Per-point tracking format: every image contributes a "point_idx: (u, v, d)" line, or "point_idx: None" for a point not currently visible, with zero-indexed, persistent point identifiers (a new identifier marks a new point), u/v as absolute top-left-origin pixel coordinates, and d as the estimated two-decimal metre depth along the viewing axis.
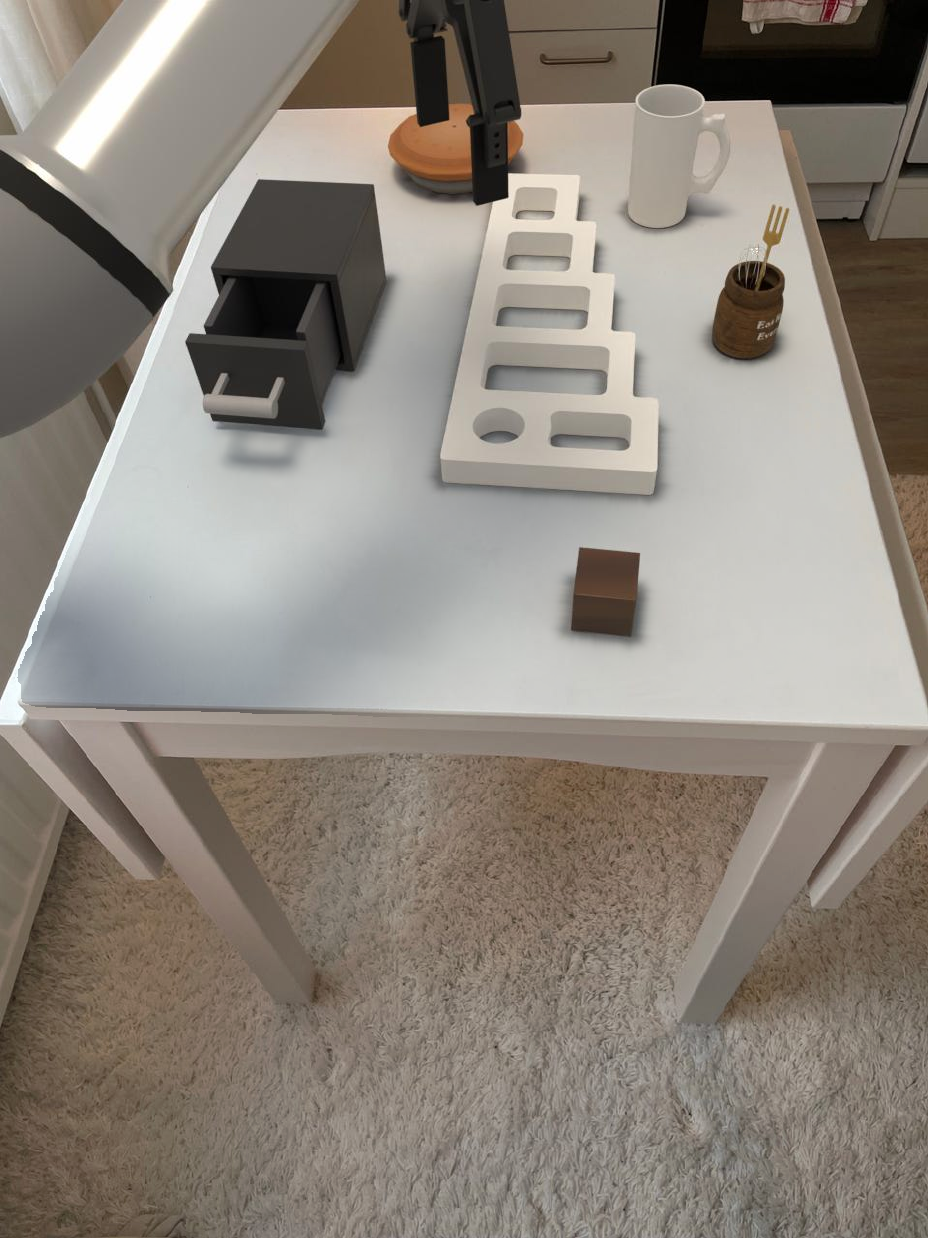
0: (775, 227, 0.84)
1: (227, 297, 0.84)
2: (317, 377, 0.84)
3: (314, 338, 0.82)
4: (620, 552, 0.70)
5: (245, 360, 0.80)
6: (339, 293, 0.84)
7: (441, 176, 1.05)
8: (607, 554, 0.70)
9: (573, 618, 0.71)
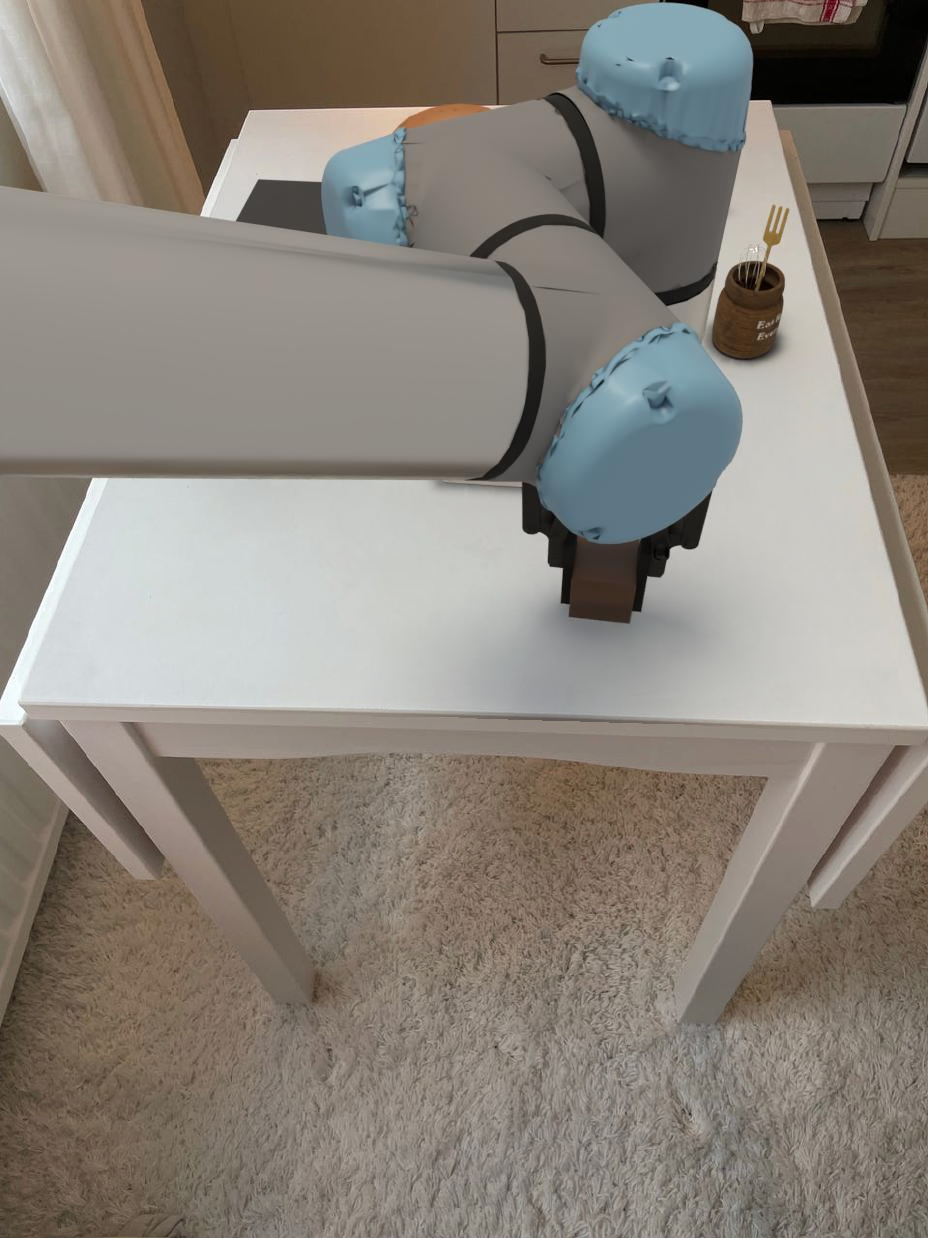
0: (775, 227, 0.84)
1: None
2: None
3: None
4: None
5: None
6: None
7: None
8: None
9: (571, 604, 0.69)
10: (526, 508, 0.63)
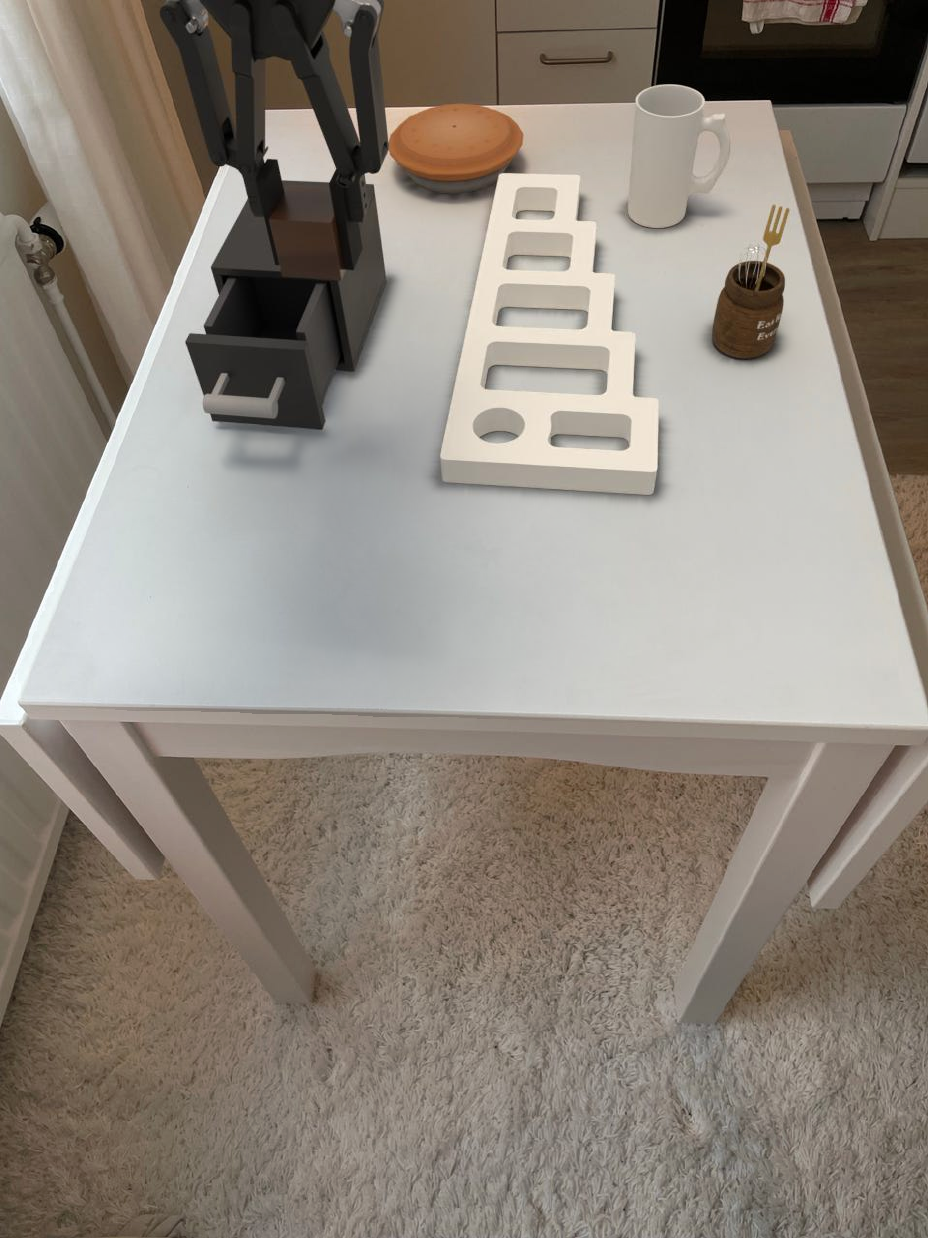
0: (775, 227, 0.84)
1: (227, 297, 0.84)
2: (317, 377, 0.84)
3: (314, 338, 0.82)
4: (327, 187, 0.68)
5: (245, 360, 0.80)
6: (339, 293, 0.84)
7: (441, 176, 1.05)
8: (314, 189, 0.68)
9: (279, 257, 0.68)
10: (205, 127, 0.62)
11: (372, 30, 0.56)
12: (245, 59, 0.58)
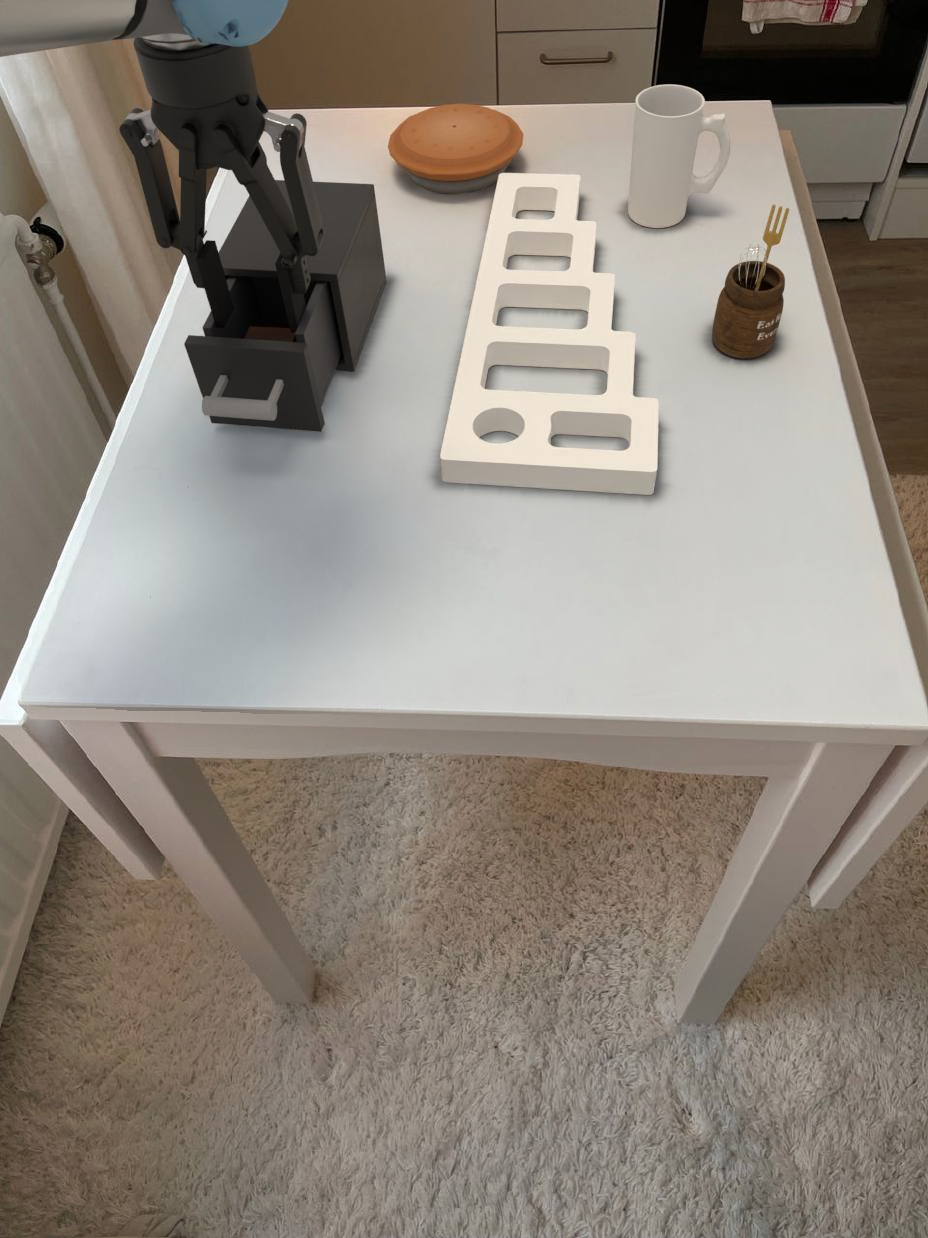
0: (775, 227, 0.84)
1: None
2: (316, 379, 0.84)
3: (313, 340, 0.82)
4: (281, 328, 0.85)
5: (244, 362, 0.80)
6: (339, 293, 0.84)
7: (441, 176, 1.05)
8: (270, 330, 0.85)
9: None
10: (154, 218, 0.74)
11: (296, 145, 0.68)
12: (190, 169, 0.70)
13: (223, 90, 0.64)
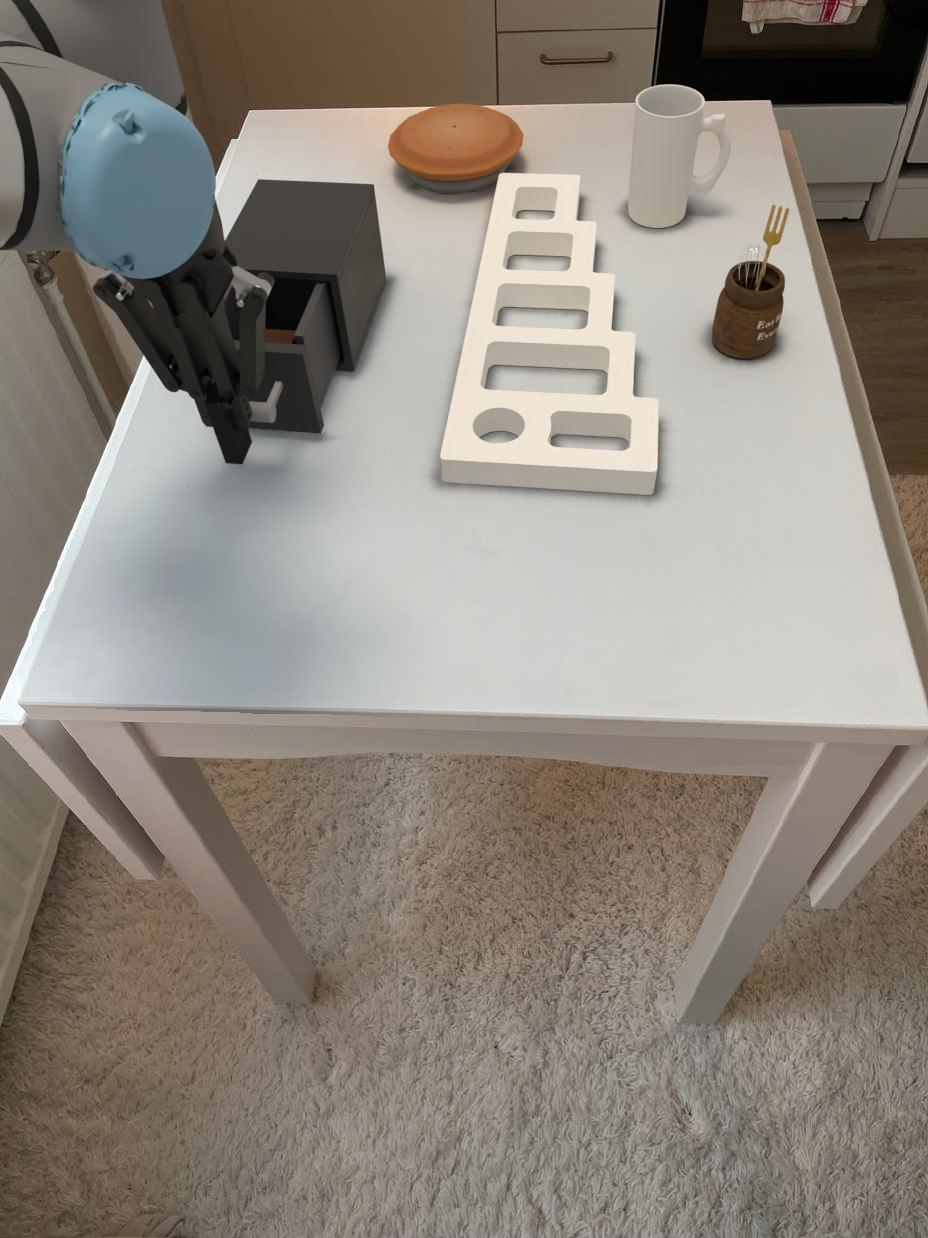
0: (775, 227, 0.84)
1: (225, 301, 0.83)
2: (316, 381, 0.84)
3: (312, 342, 0.82)
4: (280, 330, 0.85)
5: None
6: (339, 293, 0.84)
7: (441, 176, 1.05)
8: (270, 332, 0.85)
9: None
10: (154, 366, 0.72)
11: (261, 308, 0.66)
12: (167, 317, 0.67)
13: None
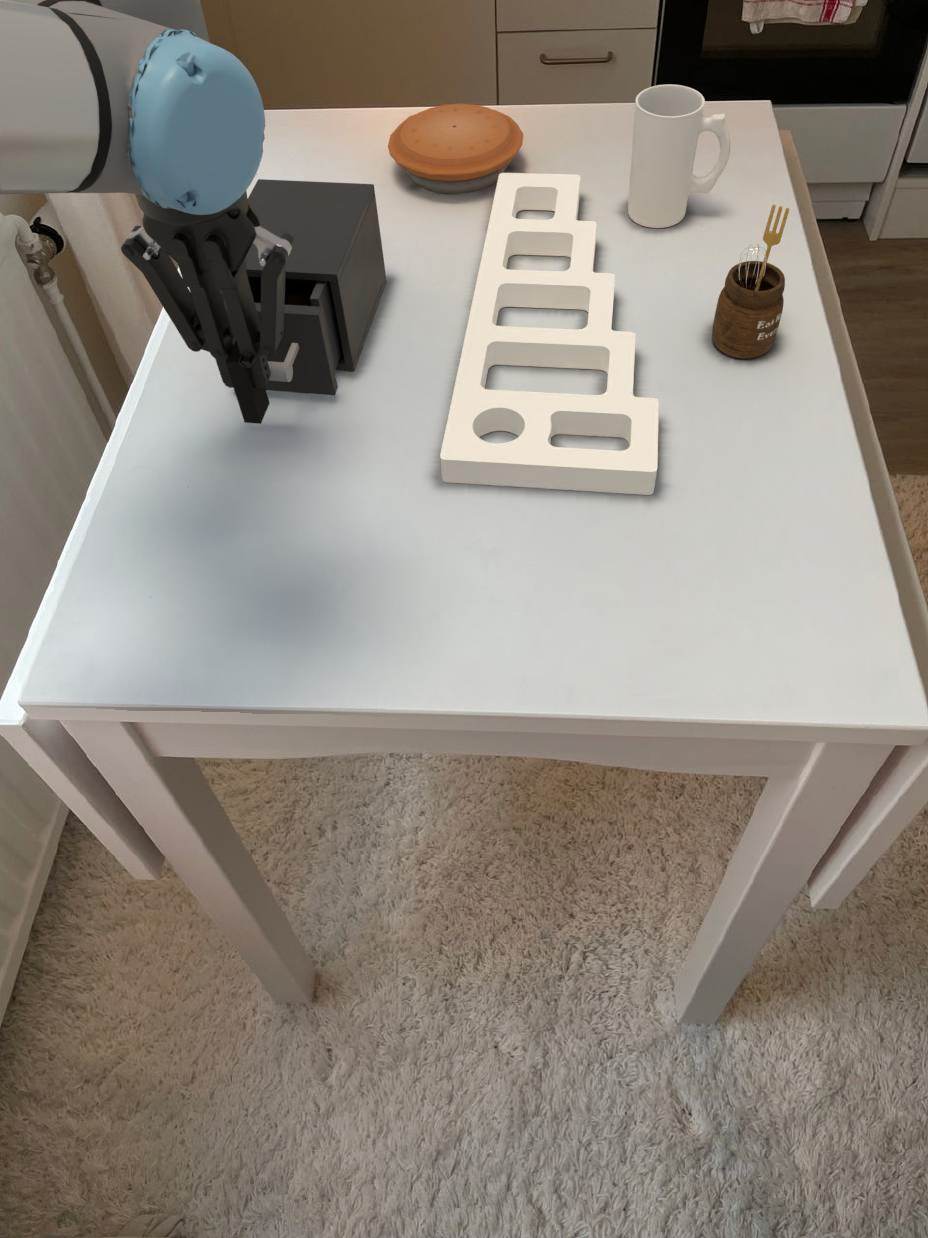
0: (775, 227, 0.84)
1: None
2: (330, 344, 0.87)
3: (327, 305, 0.85)
4: (296, 295, 0.88)
5: None
6: (339, 293, 0.84)
7: (441, 176, 1.05)
8: (285, 297, 0.88)
9: None
10: (178, 325, 0.75)
11: (282, 266, 0.69)
12: (192, 276, 0.70)
13: None
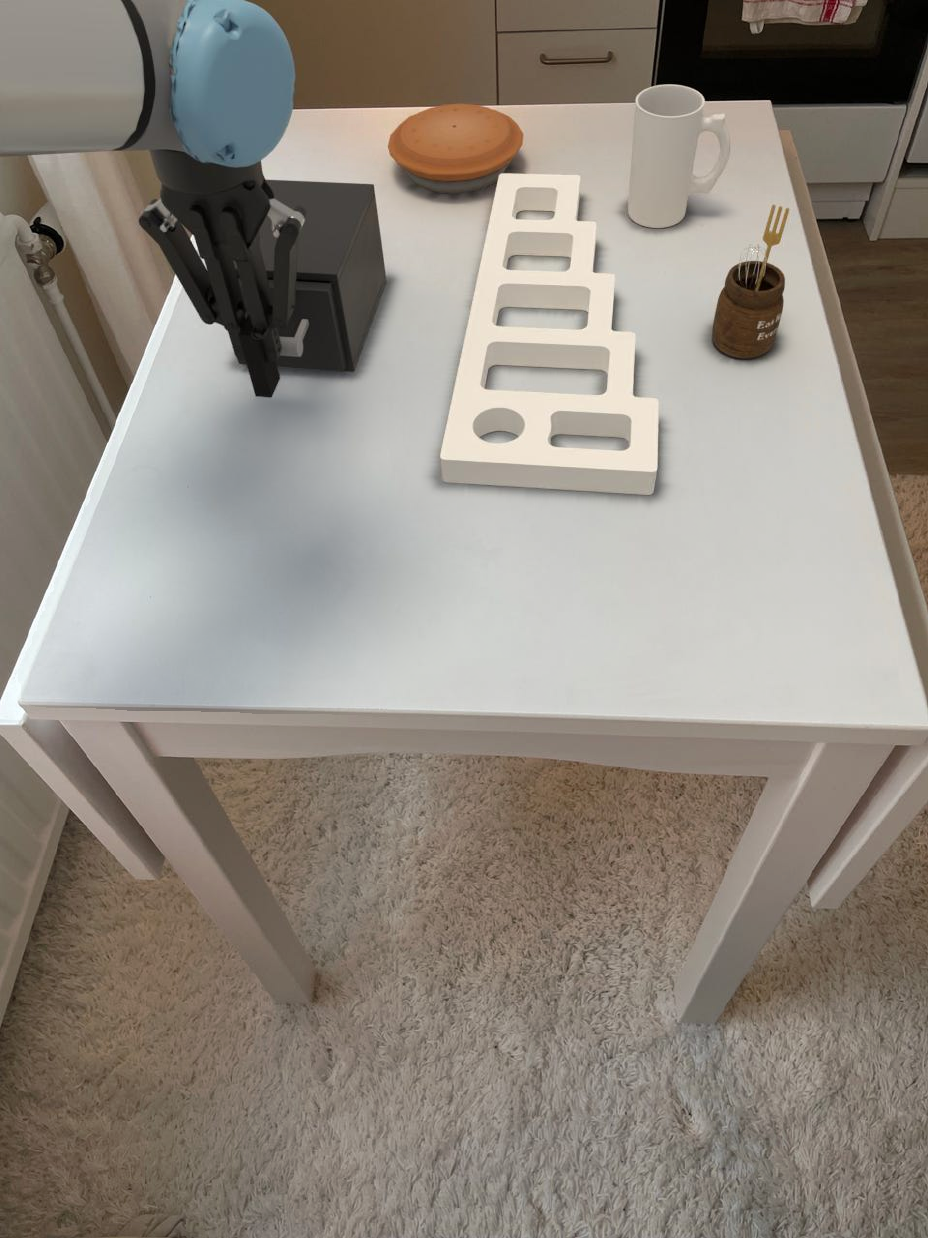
0: (775, 227, 0.84)
1: None
2: None
3: None
4: None
5: None
6: (339, 293, 0.84)
7: (441, 176, 1.05)
8: None
9: None
10: (192, 298, 0.77)
11: (296, 237, 0.71)
12: (208, 248, 0.72)
13: (230, 177, 0.66)
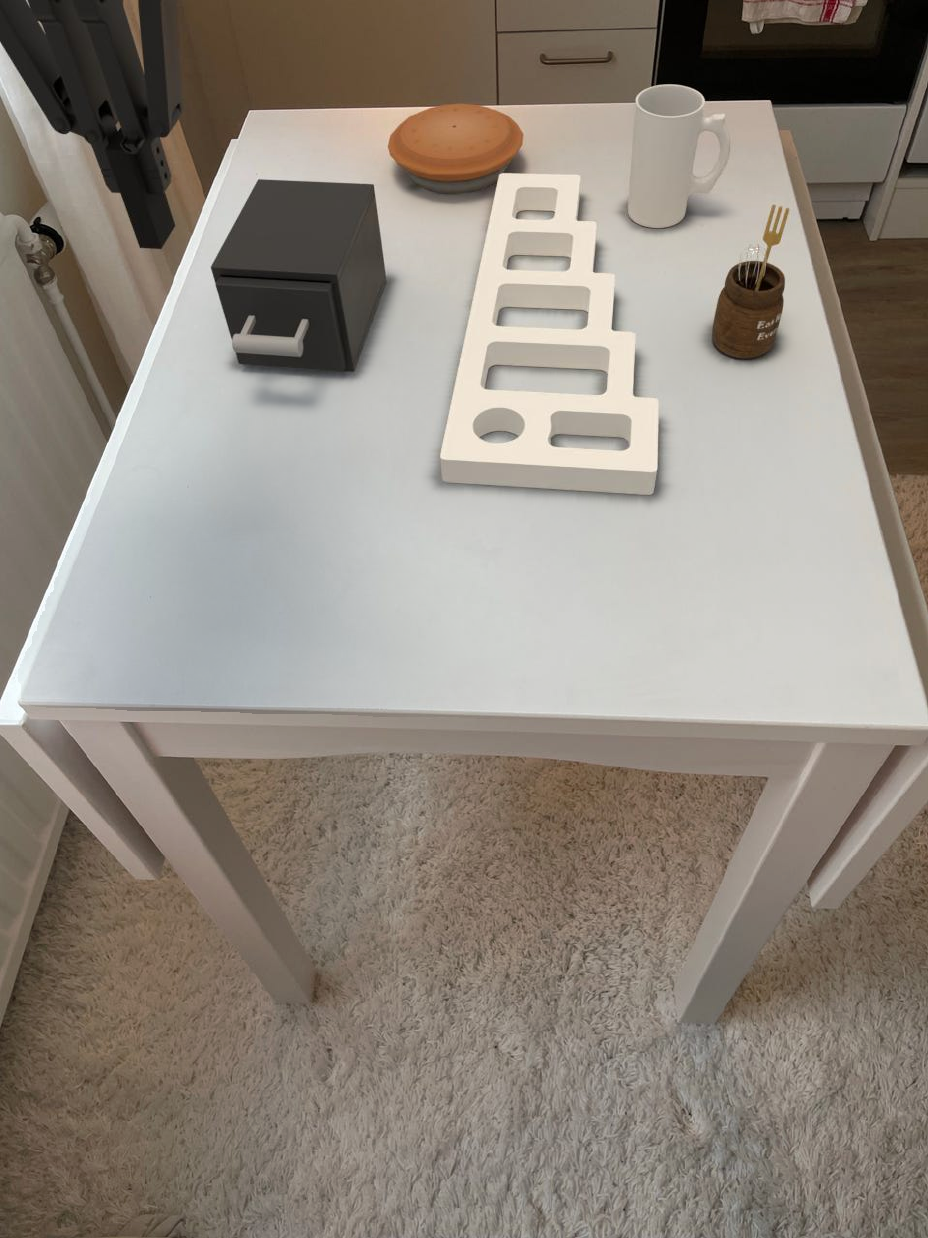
0: (775, 227, 0.84)
1: None
2: None
3: None
4: None
5: (272, 302, 0.85)
6: (339, 293, 0.84)
7: (441, 176, 1.05)
8: None
9: None
10: (35, 91, 0.55)
11: None
12: (42, 0, 0.50)
13: None
